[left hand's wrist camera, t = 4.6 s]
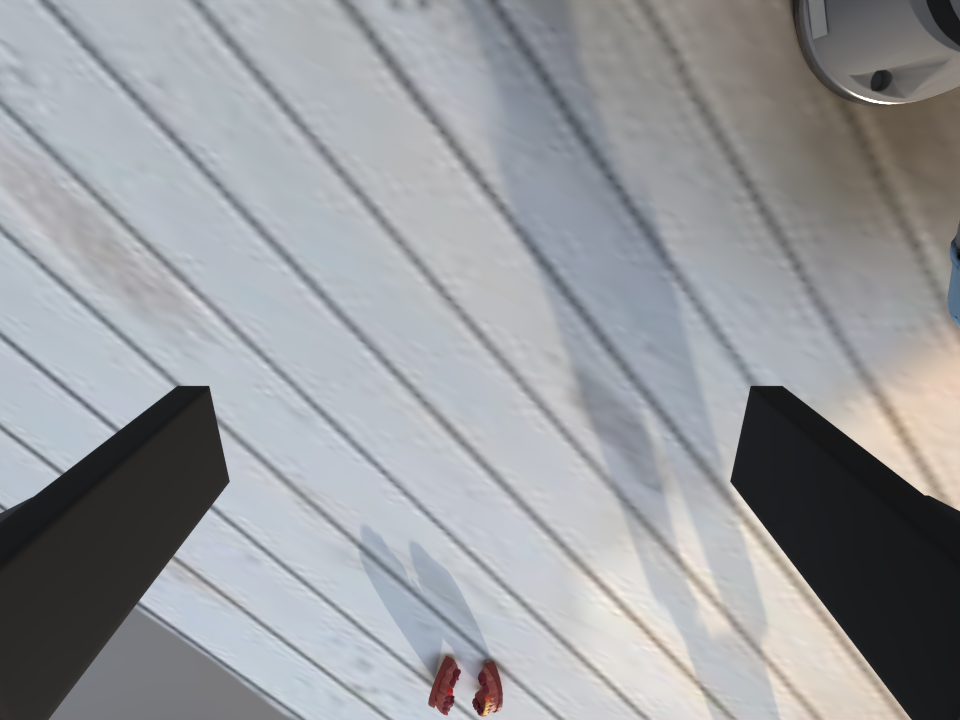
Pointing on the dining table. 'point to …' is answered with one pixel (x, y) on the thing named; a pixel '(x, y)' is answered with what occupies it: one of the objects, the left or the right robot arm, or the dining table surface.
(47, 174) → the dining table surface
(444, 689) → the dental model
